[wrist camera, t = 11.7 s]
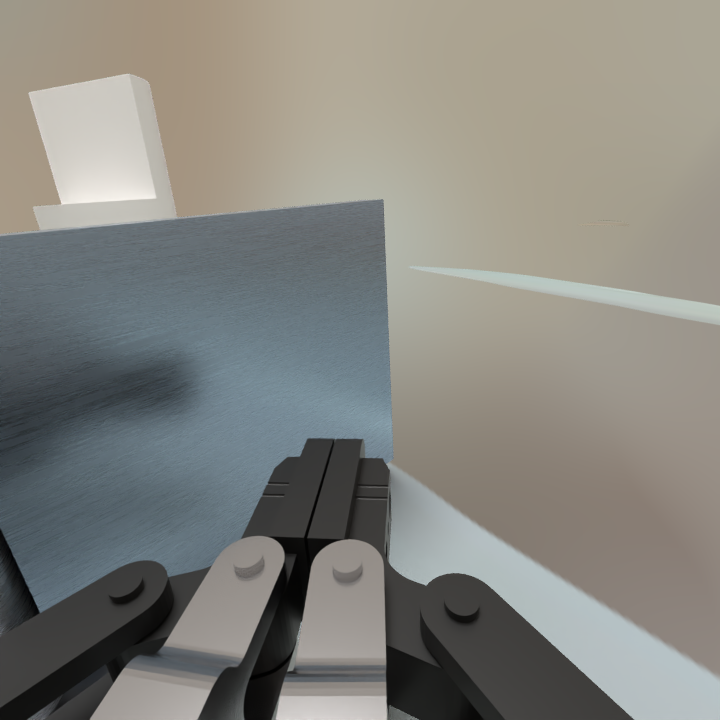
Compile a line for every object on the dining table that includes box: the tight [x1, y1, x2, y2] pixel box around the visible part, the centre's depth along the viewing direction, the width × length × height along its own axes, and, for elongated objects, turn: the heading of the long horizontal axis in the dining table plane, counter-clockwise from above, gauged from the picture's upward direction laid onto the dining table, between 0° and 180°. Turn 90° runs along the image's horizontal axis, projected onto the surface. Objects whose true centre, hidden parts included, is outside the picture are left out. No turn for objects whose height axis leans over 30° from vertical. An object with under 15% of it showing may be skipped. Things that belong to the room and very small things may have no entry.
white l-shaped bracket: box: [28, 74, 177, 230], centre depth 60 cm, size 17×17×28 cm
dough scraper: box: [0, 199, 393, 720], centre depth 14 cm, size 16×2×12 cm, turn 135°
